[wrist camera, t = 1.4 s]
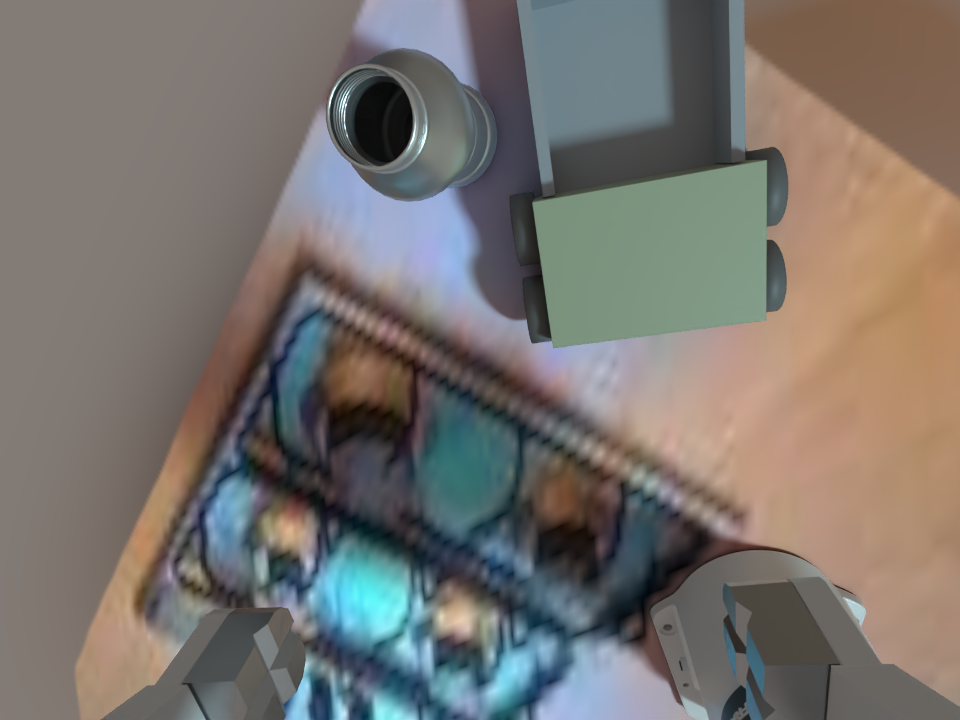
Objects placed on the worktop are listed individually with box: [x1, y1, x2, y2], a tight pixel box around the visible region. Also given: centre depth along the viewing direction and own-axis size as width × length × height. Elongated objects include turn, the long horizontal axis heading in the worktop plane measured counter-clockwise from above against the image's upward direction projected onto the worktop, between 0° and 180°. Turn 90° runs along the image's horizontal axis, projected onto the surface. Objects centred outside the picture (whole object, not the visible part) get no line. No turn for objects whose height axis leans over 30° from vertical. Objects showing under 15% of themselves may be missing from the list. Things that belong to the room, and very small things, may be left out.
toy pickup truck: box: [510, 0, 788, 348], centre depth 34 cm, size 23×17×6 cm
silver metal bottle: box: [326, 48, 497, 202], centre depth 29 cm, size 6×7×20 cm
